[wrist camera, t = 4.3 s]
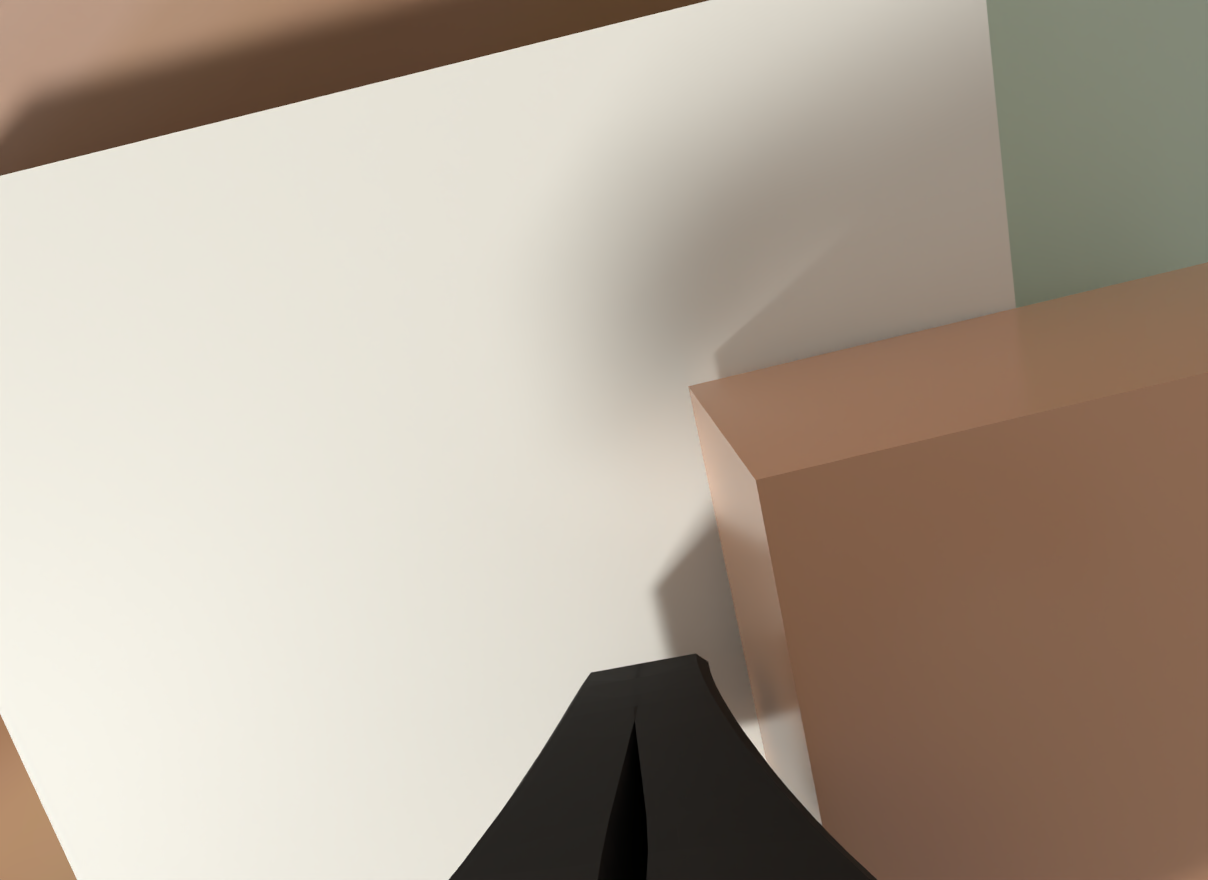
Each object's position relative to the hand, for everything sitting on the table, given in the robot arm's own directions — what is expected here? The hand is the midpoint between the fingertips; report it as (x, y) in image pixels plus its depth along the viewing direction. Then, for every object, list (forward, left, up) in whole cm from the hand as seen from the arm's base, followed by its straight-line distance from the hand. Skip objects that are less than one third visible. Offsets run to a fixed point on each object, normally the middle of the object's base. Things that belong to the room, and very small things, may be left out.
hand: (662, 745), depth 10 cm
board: (+2, 0, -3) cm, 3 cm away
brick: (-4, 0, -1) cm, 4 cm away
